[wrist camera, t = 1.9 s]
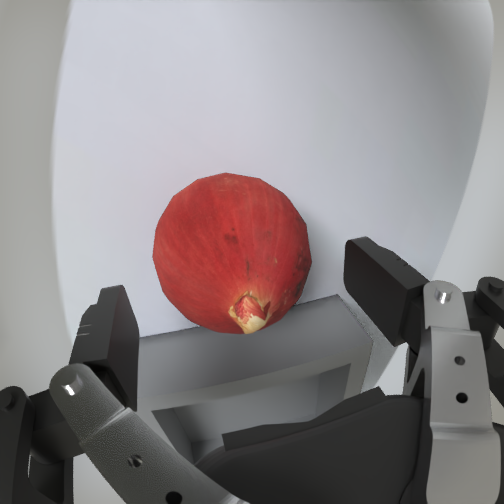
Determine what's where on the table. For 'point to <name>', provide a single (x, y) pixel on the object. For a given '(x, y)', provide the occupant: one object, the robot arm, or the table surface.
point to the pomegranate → (232, 253)
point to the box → (249, 375)
